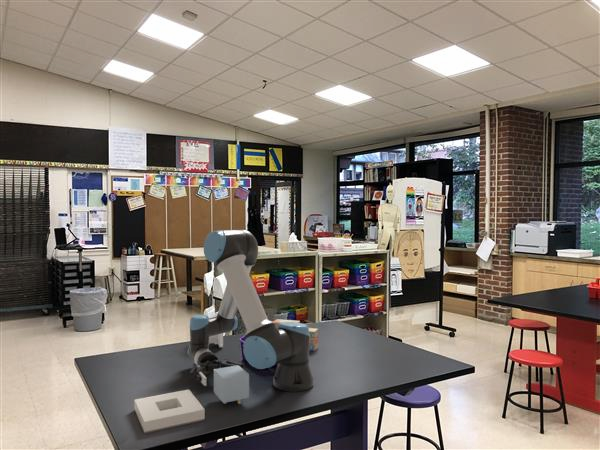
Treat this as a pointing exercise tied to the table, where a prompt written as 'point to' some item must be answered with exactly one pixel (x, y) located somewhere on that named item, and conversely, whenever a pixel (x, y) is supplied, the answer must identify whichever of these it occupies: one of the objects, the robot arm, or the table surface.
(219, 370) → the grey-blue block
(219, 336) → the cable organizer
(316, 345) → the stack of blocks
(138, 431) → the table surface
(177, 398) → the socket
